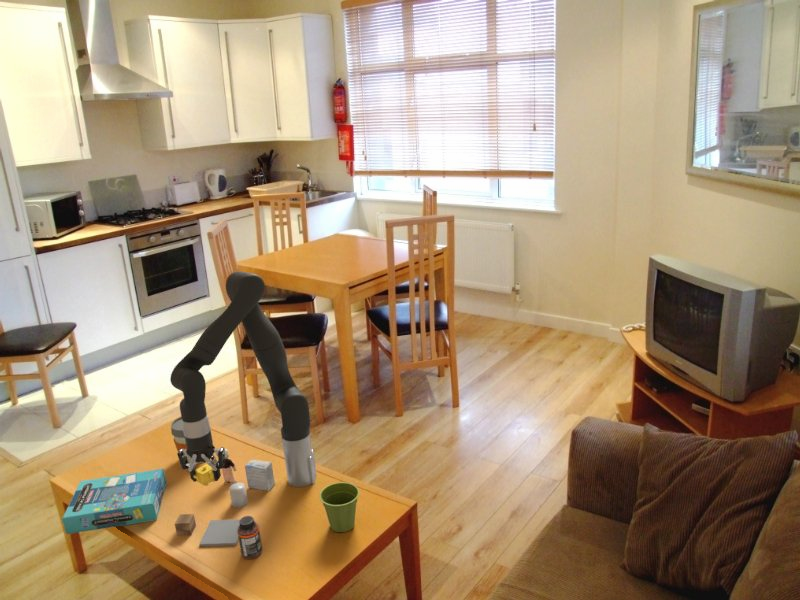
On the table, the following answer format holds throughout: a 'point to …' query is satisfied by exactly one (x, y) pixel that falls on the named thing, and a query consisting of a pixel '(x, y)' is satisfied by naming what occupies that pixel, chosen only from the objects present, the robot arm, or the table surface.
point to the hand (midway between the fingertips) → (206, 479)
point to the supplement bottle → (249, 538)
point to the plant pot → (340, 505)
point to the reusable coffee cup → (179, 436)
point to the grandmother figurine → (228, 470)
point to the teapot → (204, 475)
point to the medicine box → (259, 475)
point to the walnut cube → (185, 524)
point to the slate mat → (221, 533)
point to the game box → (115, 501)
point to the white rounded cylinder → (238, 495)
